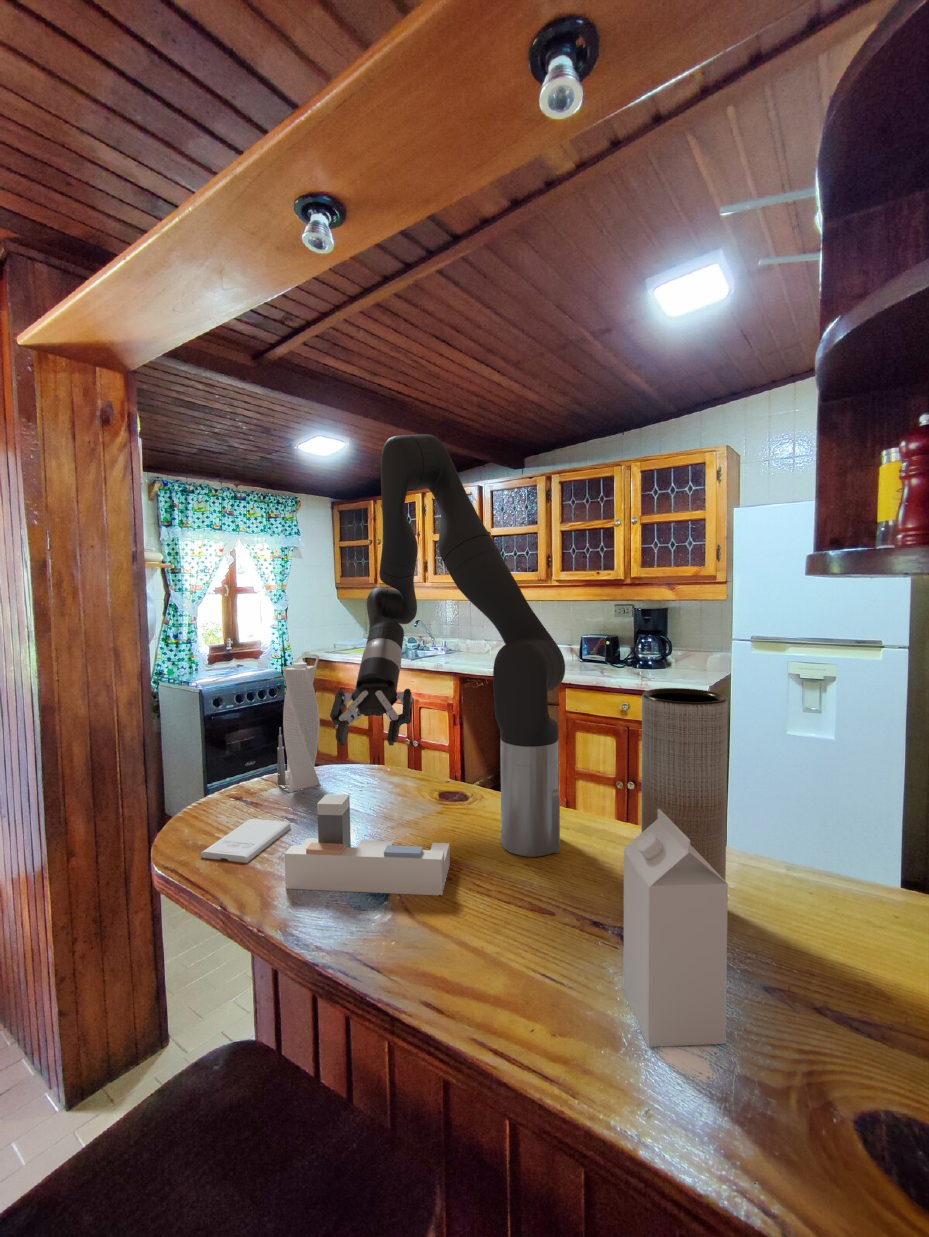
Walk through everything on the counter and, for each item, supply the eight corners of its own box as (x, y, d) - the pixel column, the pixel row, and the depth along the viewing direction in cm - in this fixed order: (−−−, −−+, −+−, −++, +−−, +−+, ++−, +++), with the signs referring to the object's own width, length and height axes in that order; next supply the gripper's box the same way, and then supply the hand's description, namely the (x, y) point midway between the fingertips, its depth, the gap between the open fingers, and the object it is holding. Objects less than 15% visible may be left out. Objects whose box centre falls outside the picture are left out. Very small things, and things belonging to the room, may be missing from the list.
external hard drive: (290, 831, 96) (247, 866, 84) (249, 827, 98) (200, 860, 86) (290, 822, 96) (246, 855, 84) (249, 818, 98) (200, 850, 86)
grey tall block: (351, 866, 83) (349, 794, 82) (343, 879, 79) (341, 804, 78) (327, 866, 83) (325, 794, 82) (319, 878, 79) (317, 803, 79)
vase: (625, 899, 73) (625, 691, 72) (684, 883, 77) (686, 685, 75) (679, 943, 64) (681, 705, 62) (743, 923, 67) (746, 698, 66)
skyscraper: (313, 776, 124) (309, 652, 122) (329, 786, 118) (325, 655, 116) (275, 785, 118) (271, 655, 117) (290, 796, 112) (286, 659, 111)
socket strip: (449, 865, 82) (449, 829, 82) (442, 895, 74) (441, 855, 74) (307, 860, 85) (306, 824, 84) (285, 888, 77) (284, 849, 76)
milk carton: (691, 988, 57) (693, 807, 56) (726, 1046, 50) (729, 839, 49) (622, 991, 56) (623, 809, 55) (648, 1049, 49) (649, 841, 48)
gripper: (338, 656, 103) (319, 732, 92) (413, 654, 102) (402, 731, 91) (348, 680, 109) (331, 754, 98) (420, 678, 107) (410, 754, 96)
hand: (365, 743), depth 94 cm, fingers open, 8 cm apart
